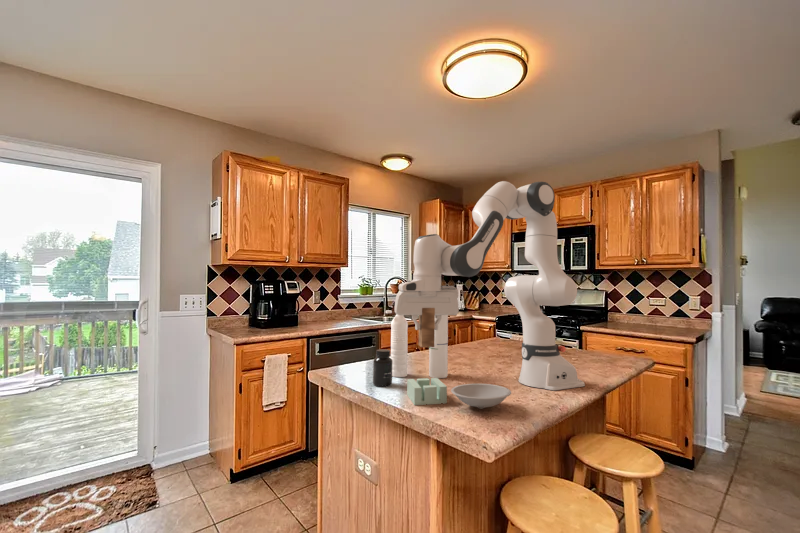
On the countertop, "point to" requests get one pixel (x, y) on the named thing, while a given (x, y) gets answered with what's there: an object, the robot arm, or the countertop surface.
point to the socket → (426, 391)
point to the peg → (427, 327)
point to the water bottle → (399, 345)
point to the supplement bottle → (382, 368)
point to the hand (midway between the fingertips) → (426, 329)
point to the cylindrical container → (439, 350)
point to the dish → (481, 394)
